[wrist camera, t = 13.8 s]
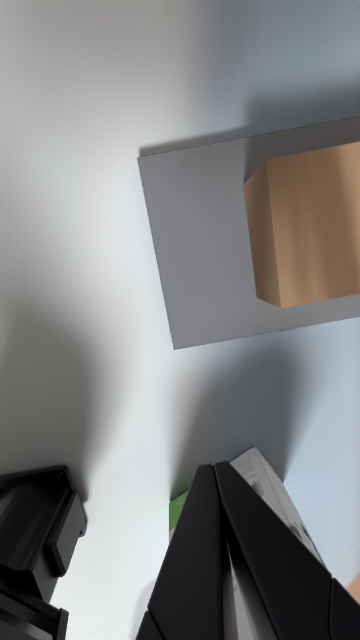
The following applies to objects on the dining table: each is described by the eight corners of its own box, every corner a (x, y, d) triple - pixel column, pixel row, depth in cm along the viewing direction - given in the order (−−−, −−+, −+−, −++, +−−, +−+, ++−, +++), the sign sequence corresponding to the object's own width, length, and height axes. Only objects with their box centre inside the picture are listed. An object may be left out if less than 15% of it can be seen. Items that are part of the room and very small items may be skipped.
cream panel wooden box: (281, 308, 14) (438, 279, 14) (266, 159, 12) (443, 125, 12) (256, 298, 18) (379, 275, 17) (243, 184, 16) (376, 159, 16)
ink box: (201, 537, 23) (232, 823, 11) (166, 498, 22) (160, 768, 10) (286, 484, 22) (418, 735, 10) (254, 441, 21) (357, 665, 9)
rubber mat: (173, 346, 19) (173, 349, 18) (138, 162, 16) (137, 157, 16) (368, 311, 19) (377, 313, 18) (364, 120, 16) (373, 113, 15)
